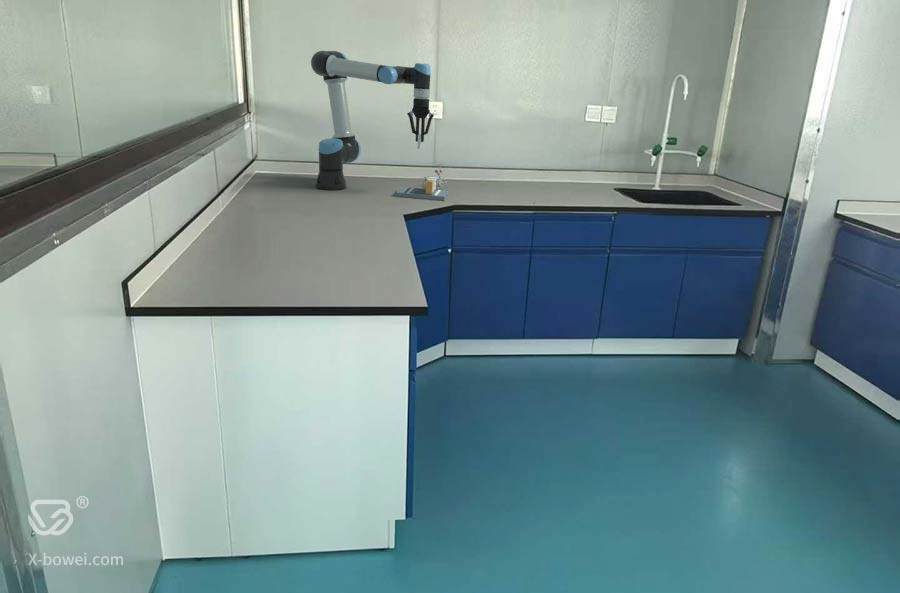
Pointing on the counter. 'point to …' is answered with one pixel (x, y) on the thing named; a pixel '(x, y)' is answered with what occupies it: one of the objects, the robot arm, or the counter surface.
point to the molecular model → (437, 178)
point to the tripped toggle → (429, 187)
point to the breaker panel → (422, 192)
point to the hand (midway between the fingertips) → (419, 148)
